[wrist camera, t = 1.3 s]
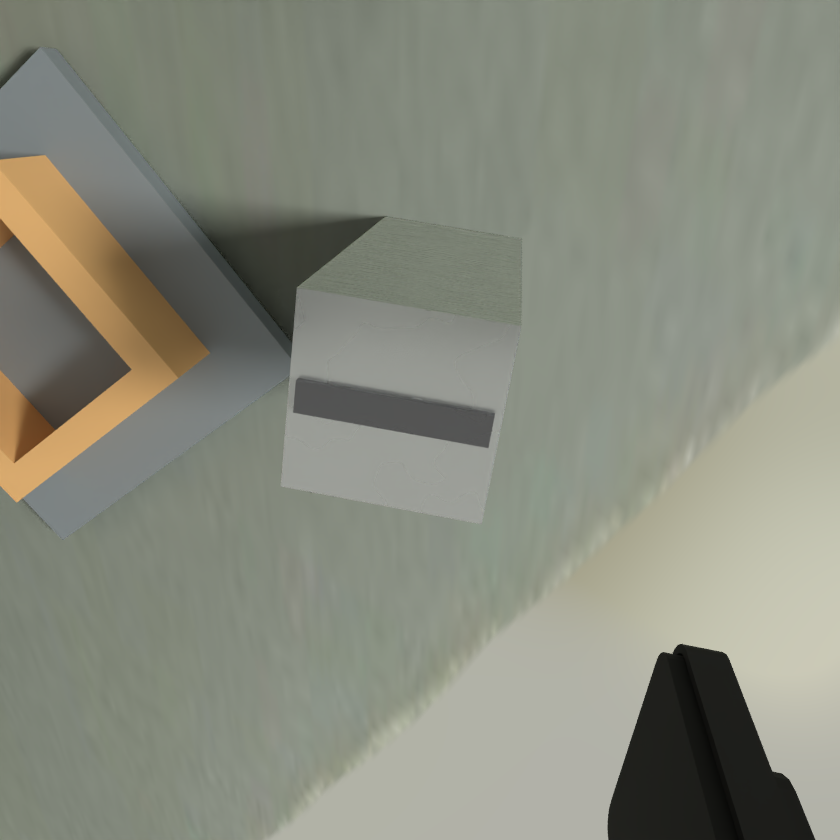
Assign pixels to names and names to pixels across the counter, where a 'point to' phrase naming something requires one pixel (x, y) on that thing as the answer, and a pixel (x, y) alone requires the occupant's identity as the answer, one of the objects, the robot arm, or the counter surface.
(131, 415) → the collar plate
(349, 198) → the counter surface
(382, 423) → the block
